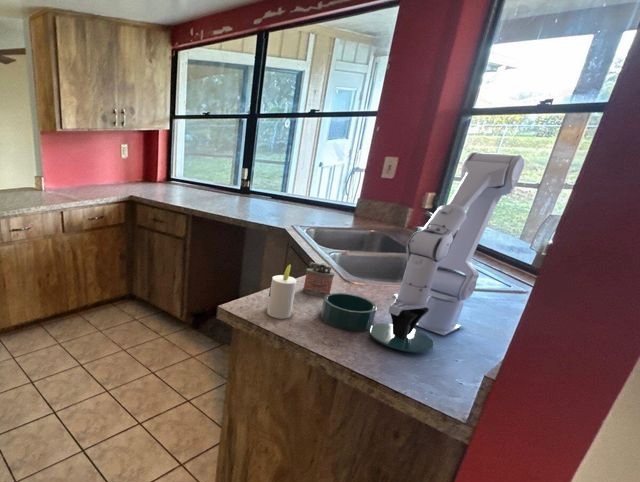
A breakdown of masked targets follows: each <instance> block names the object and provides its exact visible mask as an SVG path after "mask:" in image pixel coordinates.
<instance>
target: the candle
mask: <svg viewBox="0 0 640 482" xmlns="http://www.w3.org/2000/svg"><path fill="white" fill-rule="evenodd" d="M291 267H292V265H291V263H290V264H288V265H287V267H286V268H285V271H284V273H283V274H277V275H274V276H272V277H271V284H270V287H269V292H268V305H267V310H266V313H267V315H269V316H270V317H271V318H275V319H281V320H285V319H289V318H290V317H291V315H292V310H293V304H294V300H295V299H294V298H295V293H296V287H297V282H298V280H297V279H296V278H295V277H293V276H290V272H291Z"/></svg>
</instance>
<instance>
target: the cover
mask: <svg viewBox="0 0 640 482" xmlns="http://www.w3.org/2000/svg"><path fill="white" fill-rule="evenodd" d="M410 326H411V324H410V325H409V327H408V329H407V331H406V333H405V335H404V336H403V337H402V338H400V337H398V336H395V335H393V324H392V323H387V322H386V323H384V322H383V323H382V322H381V323H375V324H372V326H371V327H370V328H369V329H368V334H369V335H370V337H371V338H372V339H374V340H375V341H377V342H378V343H380V344H381V345H384V346H386V347H389V348H392V349H395V350H398V351H402V352H407V353H418V354H419V353H428V352H430V351H432V350H433V349H434V348H435V342H434V340H433V339H432V338H431V337H430V336H429V335H428V334H426V333H424V332H422V331H420V330H417V329H415V328H414V329H413V330H412V332H411V333H410V334H409V335H408V333H409V330H410Z"/></svg>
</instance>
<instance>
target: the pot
mask: <svg viewBox="0 0 640 482" xmlns="http://www.w3.org/2000/svg"><path fill="white" fill-rule="evenodd" d="M377 309H378V306H377V305H376V303H375V302H374V301H372V300H370V299H369V298H366V297H363V296H360V295H356V294H352V293H343V292H336V293H335V292H333V293H332V292H331V293H330V294H328V295H326V296H325V297H323V302H322V306H321V311H320V318H321V320H322V321H324V323H326V324H328V325H329V326H332V327H335V328H336V329H337V328H338V329H340V330H344V331H352V332H364V331H369V328H370V327H371V326H372V325H374V321H375V317H376V314H377Z"/></svg>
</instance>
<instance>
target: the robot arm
mask: <svg viewBox="0 0 640 482" xmlns="http://www.w3.org/2000/svg"><path fill="white" fill-rule="evenodd" d="M525 160H526V159H525V157H524V155H523V154H522V153H521V154H520V153H517V154H511V153H510V154H508V153H506V154H505V153H489V152H479V151H472V152H471V153H469V154H468V155H467V156H466V157H465V159H464V160H463V162H462V164H461V168H460V183H459V184H458V186H457V188H456V189H455V191H454V192H453V195H452V196H451V197H450V199H449V201H448V203H447V204H443V205H440V206H438V207H437V209H436V210H435V211H434V213H433V214H432V216H431V217H430V218H429V219H428V221H427V222H426V223H425V225H424V226H423V228H422V229H421V230H419V231H415V232H413V233H412V234H411V236H410V237H409V239H408V241H407V243H406V247H405V249H406V256H405V262H406V266H405V270H404V272H403V277H402V280H401V284H400V288H399V291H398V293H394V294H392V295H391V298H392V299H393V300H394V301H393V303H392V304H390V305H389V308H388V314H390V317H391V321H392V322H391V324H393V335H395V336H398V337H400V338H402V337H403V336H404V335H405V333H406V331H407V329H408V327H409V325H410V324H411V326H410V330H409V333H408V335H409V334H410V333H411V332H412V330H413V329H415V327H416V326H417V327H419V328H421V329H424V330H427V331H430V332H432V333H435V334H437V335H440V336H446V335H448V334H449V333H452V332H454V331H456V330H458V329H460V328H461V325H460V324H458V322H459V319H460V316H461V313H462V310H463V307H464V301H466V300H468V299H469V298H471V296H472V294H474V291H475V289H476V287H477V281H478V279H479V277H480V273H479V271H478V269H477V268H476V267H475V266H474V265H473V264H472V262H471V260H472V258H473V257H474V254H475V252H476V250H477V247H478V245H479V243H480V241H481V239H482V237H483V234H484V233H485V230H486V228H487V226H488V224H489V222H490V220H491V217H492V215H493V214H494V211H495V209H496V207H497V205H498V203H499V201H500V200H501V198H502V196H506V195H511V194H512V193H513V192H514V190H515V188H516V186H517V184H518V182H519V180H520V178H521V175H522V174H523V171H524V168H525V162H526V161H525ZM454 236H455V237H454ZM447 269H449V270H447ZM452 270H453V271H452ZM454 271H457V272H454ZM458 272H459V273H458ZM462 273H463V274H462Z"/></svg>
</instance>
